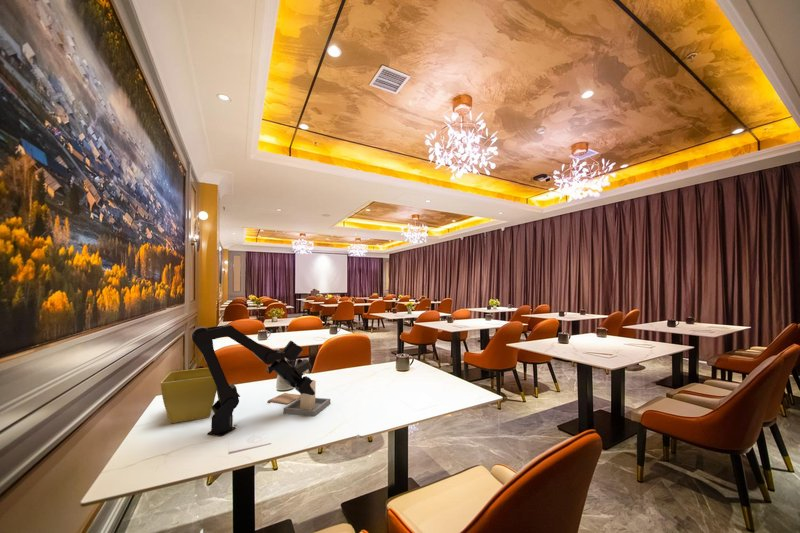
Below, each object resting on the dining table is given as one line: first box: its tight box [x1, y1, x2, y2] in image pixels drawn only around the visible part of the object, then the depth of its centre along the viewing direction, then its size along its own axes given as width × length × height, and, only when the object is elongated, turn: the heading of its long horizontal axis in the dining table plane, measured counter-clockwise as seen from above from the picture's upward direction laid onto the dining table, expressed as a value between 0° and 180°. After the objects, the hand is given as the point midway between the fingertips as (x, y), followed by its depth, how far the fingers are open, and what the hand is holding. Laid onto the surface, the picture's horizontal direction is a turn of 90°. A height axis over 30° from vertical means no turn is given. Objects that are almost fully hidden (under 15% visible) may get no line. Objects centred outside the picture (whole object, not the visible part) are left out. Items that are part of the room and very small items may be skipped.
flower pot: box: [160, 367, 217, 424], centre depth 127 cm, size 19×19×17 cm
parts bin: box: [283, 397, 331, 417], centre depth 131 cm, size 14×14×2 cm
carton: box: [299, 379, 316, 410], centre depth 131 cm, size 4×4×11 cm
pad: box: [266, 392, 300, 406], centre depth 142 cm, size 11×11×1 cm
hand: (311, 392), depth 132 cm, fingers closed on carton, 6 cm apart
